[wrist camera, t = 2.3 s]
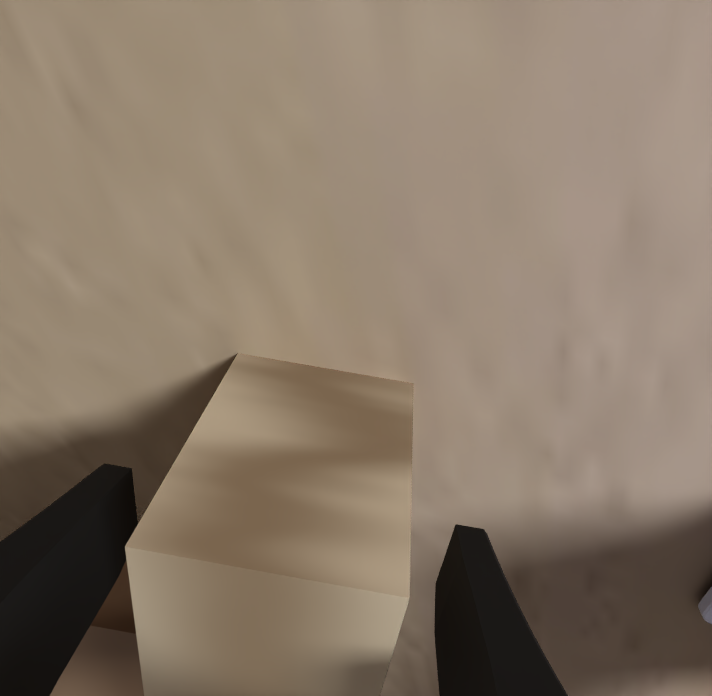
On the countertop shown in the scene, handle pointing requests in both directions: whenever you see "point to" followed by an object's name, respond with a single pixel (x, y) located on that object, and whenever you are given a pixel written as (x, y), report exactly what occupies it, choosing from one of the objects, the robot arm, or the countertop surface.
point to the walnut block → (106, 651)
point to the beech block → (279, 538)
